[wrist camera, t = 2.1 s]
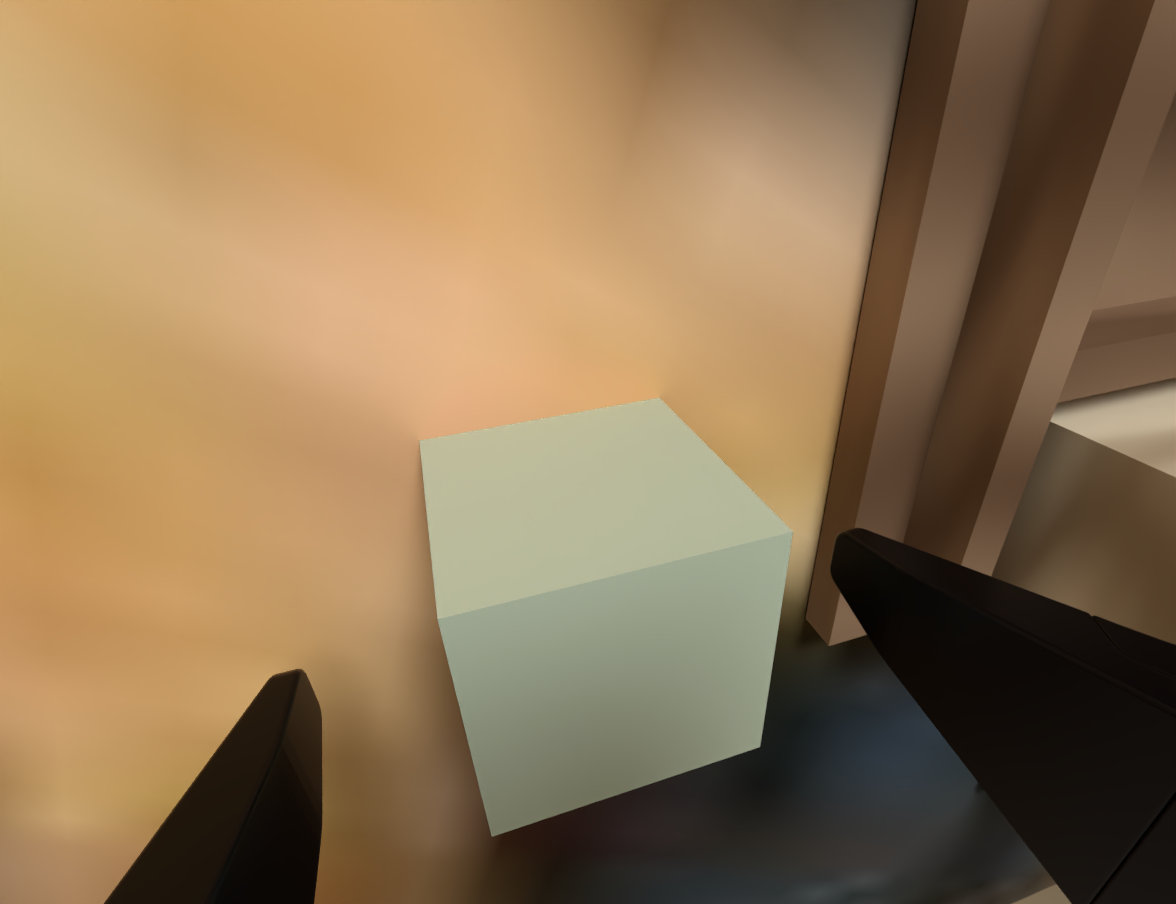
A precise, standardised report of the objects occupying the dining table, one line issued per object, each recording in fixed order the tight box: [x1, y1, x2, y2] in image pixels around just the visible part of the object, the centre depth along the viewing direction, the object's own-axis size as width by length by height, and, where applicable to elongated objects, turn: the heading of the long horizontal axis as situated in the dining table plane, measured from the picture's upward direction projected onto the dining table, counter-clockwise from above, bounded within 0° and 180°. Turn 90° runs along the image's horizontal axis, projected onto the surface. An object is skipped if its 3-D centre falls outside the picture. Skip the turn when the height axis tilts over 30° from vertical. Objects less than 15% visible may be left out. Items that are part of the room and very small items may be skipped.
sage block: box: [419, 398, 793, 837], centre depth 10 cm, size 4×4×4 cm
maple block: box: [991, 378, 1176, 645], centre depth 12 cm, size 4×4×4 cm
